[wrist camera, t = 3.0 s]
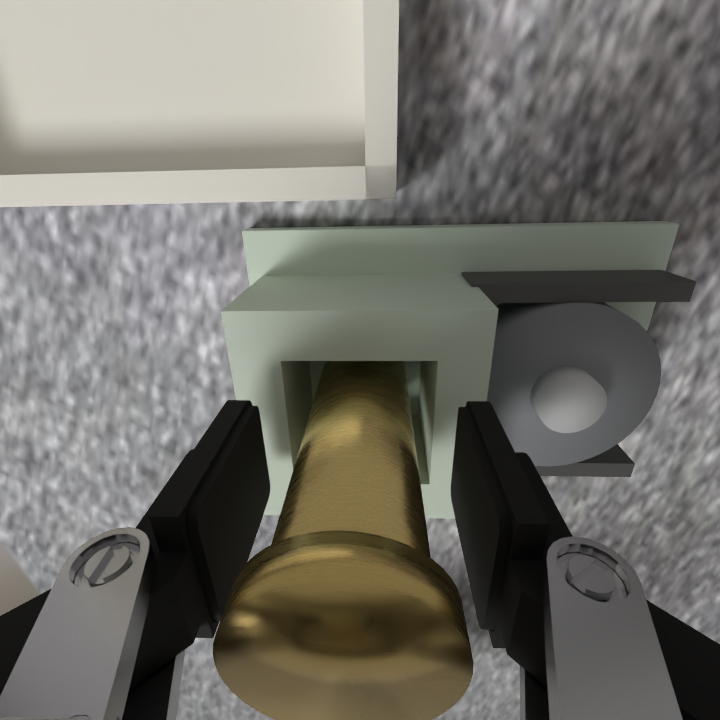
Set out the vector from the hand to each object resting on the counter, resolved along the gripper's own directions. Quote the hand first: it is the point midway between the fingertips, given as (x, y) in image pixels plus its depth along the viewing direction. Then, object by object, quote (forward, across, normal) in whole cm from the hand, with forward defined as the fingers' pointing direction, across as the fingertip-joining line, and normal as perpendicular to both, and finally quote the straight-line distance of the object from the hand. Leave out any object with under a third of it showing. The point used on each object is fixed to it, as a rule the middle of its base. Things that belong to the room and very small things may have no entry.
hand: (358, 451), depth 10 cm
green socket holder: (+6, -3, 0) cm, 7 cm away
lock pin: (+5, 0, 0) cm, 5 cm away
